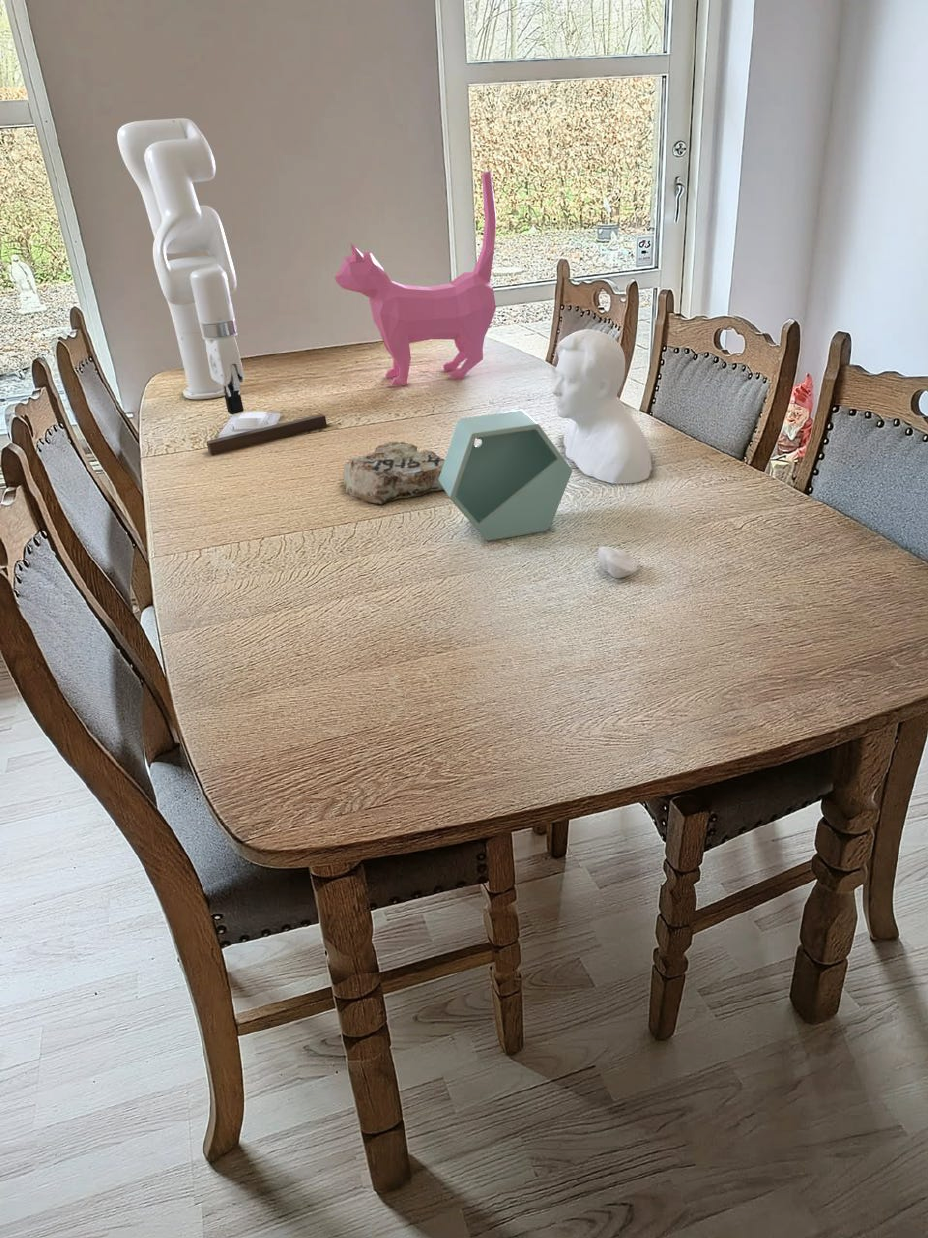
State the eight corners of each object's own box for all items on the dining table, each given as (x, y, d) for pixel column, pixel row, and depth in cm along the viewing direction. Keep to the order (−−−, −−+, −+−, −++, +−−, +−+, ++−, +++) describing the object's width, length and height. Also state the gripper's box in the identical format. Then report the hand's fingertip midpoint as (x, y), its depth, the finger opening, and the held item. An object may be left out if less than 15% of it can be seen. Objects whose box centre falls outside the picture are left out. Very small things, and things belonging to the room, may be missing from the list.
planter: (506, 564, 136) (427, 472, 125) (492, 544, 143) (416, 454, 132) (591, 495, 134) (518, 395, 123) (573, 478, 140) (502, 381, 129)
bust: (520, 445, 170) (516, 321, 158) (605, 427, 175) (607, 306, 163) (591, 492, 147) (593, 352, 135) (686, 470, 153) (695, 334, 141)
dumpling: (588, 570, 124) (592, 543, 122) (621, 569, 125) (625, 543, 124) (610, 583, 117) (613, 554, 116) (644, 582, 119) (648, 554, 118)
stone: (359, 483, 143) (319, 438, 162) (363, 515, 146) (323, 467, 165) (465, 462, 149) (414, 421, 168) (466, 493, 152) (416, 449, 171)
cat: (346, 381, 219) (320, 183, 196) (495, 362, 226) (487, 169, 203) (352, 394, 208) (325, 186, 185) (509, 374, 215) (502, 171, 192)
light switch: (215, 425, 184) (231, 403, 195) (219, 443, 187) (235, 421, 197) (264, 422, 183) (278, 401, 194) (268, 441, 186) (281, 419, 196)
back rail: (208, 452, 178) (206, 441, 176) (323, 424, 189) (321, 413, 188) (211, 455, 176) (209, 443, 175) (327, 426, 188) (325, 415, 186)
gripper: (191, 327, 191) (209, 409, 201) (213, 337, 180) (231, 423, 189) (224, 322, 195) (240, 402, 204) (247, 331, 183) (263, 415, 193)
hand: (236, 412), depth 197 cm, fingers closed
